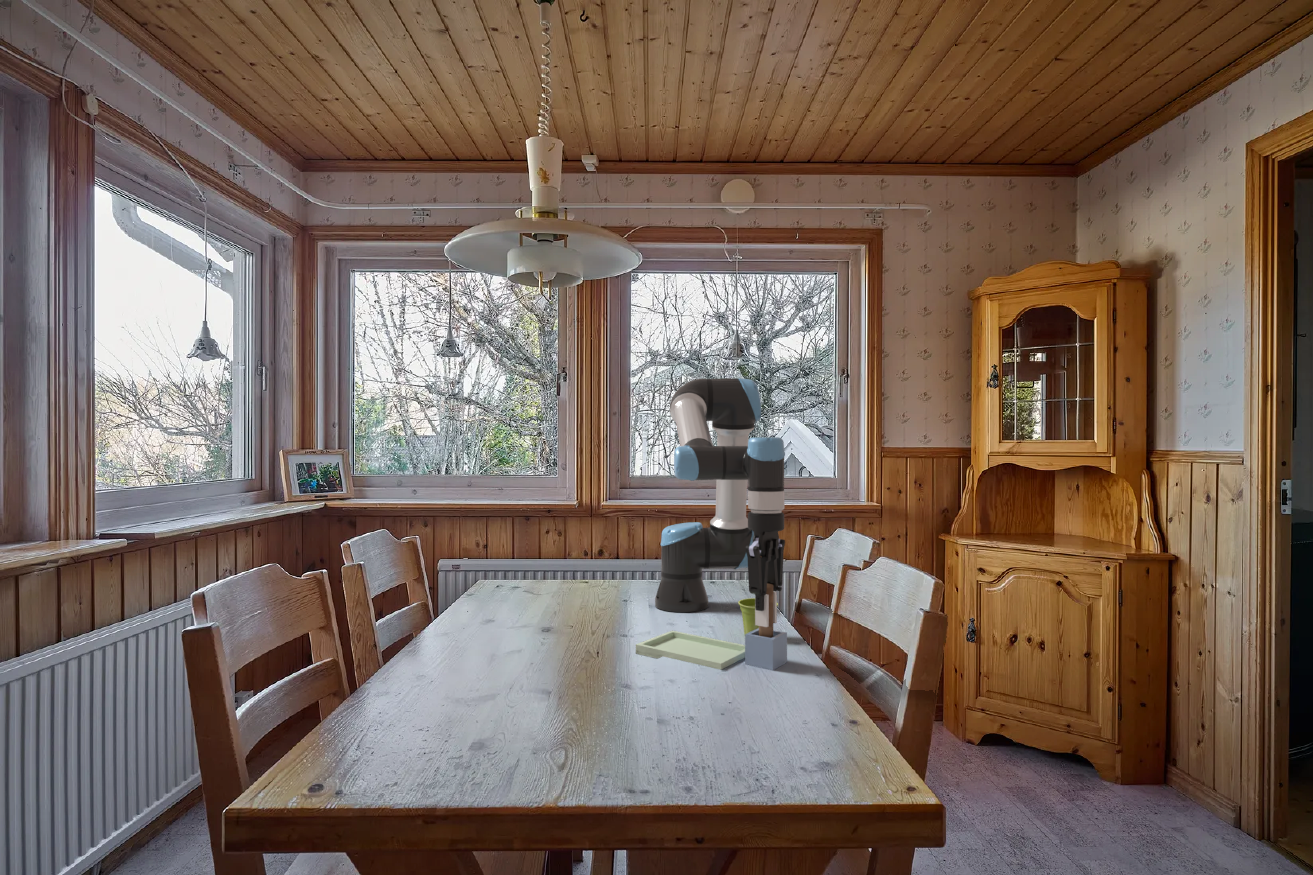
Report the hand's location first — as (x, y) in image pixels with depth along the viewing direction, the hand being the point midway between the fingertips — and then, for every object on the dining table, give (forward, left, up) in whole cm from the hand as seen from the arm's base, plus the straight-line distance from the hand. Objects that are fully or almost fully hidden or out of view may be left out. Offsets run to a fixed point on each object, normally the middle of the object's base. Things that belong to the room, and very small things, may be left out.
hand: (766, 623), depth 144 cm
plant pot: (-17, -11, -9) cm, 22 cm away
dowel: (0, 0, -8) cm, 8 cm away
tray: (+2, -16, -9) cm, 19 cm away
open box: (0, 0, -9) cm, 9 cm away
